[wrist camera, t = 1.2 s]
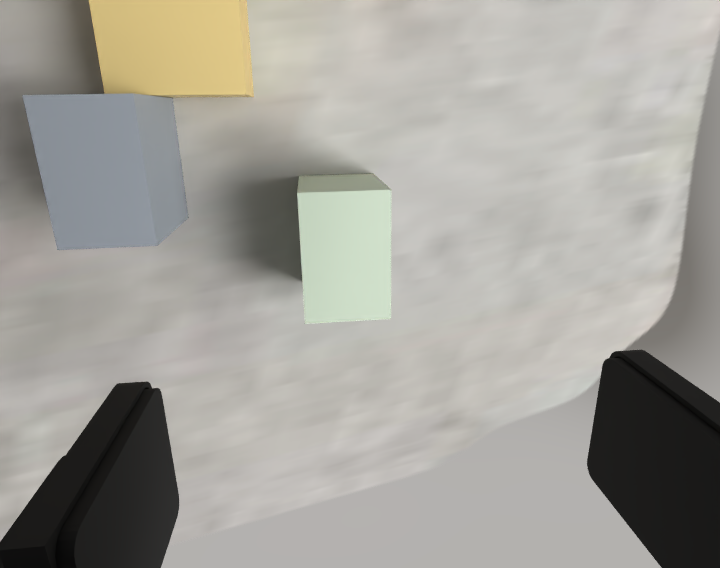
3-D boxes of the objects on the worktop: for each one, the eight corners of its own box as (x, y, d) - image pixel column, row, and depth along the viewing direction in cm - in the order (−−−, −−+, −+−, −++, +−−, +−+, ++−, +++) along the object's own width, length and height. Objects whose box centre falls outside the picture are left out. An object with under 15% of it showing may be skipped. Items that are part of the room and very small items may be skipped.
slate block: (88, 99, 24) (22, 95, 18) (172, 98, 24) (133, 93, 19) (111, 220, 26) (57, 249, 20) (188, 217, 26) (157, 245, 21)
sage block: (299, 175, 26) (297, 192, 21) (373, 173, 27) (391, 189, 21) (305, 281, 28) (305, 323, 23) (374, 278, 29) (391, 318, 23)
